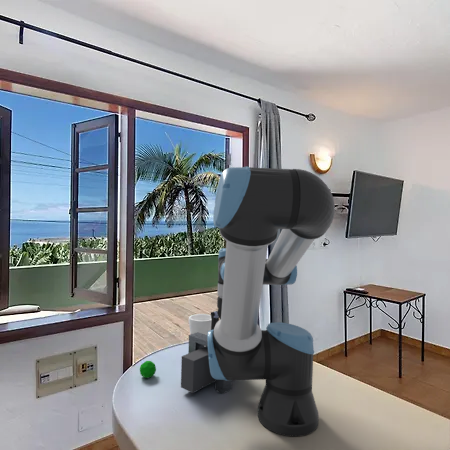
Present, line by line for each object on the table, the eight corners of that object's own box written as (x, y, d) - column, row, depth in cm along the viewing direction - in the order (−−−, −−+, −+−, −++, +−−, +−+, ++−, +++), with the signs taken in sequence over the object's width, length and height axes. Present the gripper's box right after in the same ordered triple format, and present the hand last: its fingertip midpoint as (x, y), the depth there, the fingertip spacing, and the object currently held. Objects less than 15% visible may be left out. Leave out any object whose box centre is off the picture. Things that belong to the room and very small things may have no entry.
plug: (240, 368, 112) (241, 341, 112) (193, 393, 95) (194, 361, 95) (227, 363, 115) (228, 337, 115) (180, 386, 99) (180, 355, 98)
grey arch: (231, 388, 101) (233, 343, 101) (223, 394, 98) (224, 347, 98) (196, 373, 111) (197, 332, 110) (187, 377, 107) (188, 335, 107)
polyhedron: (138, 374, 109) (138, 359, 109) (153, 372, 111) (154, 357, 111) (141, 381, 104) (141, 366, 104) (157, 379, 106) (157, 363, 106)
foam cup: (191, 346, 134) (192, 313, 134) (214, 348, 133) (215, 314, 133) (185, 355, 125) (186, 320, 124) (210, 357, 123) (211, 321, 123)
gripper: (259, 299, 107) (257, 372, 108) (215, 290, 119) (213, 356, 120) (245, 303, 102) (243, 380, 102) (200, 293, 113) (198, 362, 114)
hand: (227, 367), depth 111 cm, fingers closed on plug, 5 cm apart
